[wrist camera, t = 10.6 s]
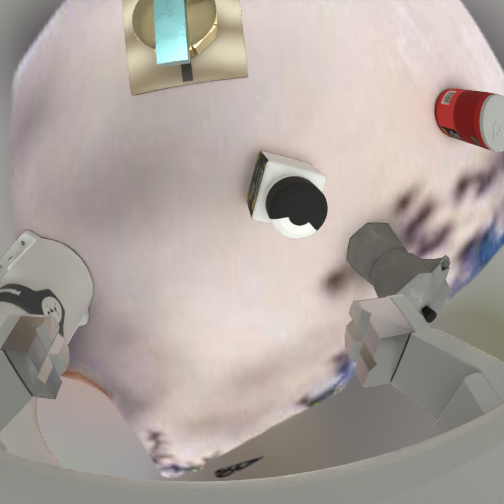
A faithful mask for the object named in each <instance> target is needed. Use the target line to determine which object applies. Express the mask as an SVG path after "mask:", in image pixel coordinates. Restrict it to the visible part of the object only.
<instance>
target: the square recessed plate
mask: <svg viewBox="0 0 504 504" xmlns="http://www.w3.org/2000/svg"><path fill="white" fill-rule="evenodd" d="M122 1H123V17H124V30H125V42H126V52H127V62H128V70H129V79H130V87H131V94H132V95H137V94H142V93H146V92H151V91H156V90H161V89H166V88H171V87H177V86H183V85H189V84H195V83H202V82H209V81H216V80H225V79H234V78H244V77H248V74H247V64H246V55H245V46H244V37H243V28H242V19H241V10H240V1H239V0H216V12H217V35H216V39H215V40H214V41H213V42H212V43H211V44H210V45H209V46H208V47H207V48H206V49H205V50H204V51H203V52H202V53H201V54H200V56H198V55H197V54H196V58H190V61H191V63H188V64H181V65H174V66H168V67H162V66H160V65H158V64H157V56H156V52H155V51H153V50H152V49H150V48H149V47H148V46H146V45H145V44H143V43H142V42H140V41H139V40H138V39H136V38H137V37H136V36H135V32H134V29H133V25H132V15H133V11H134V8H135V6H136V4H137V2H138V1H139V0H122Z"/></svg>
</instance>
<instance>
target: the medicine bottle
mask: <svg viewBox="0 0 504 504" xmlns="http://www.w3.org/2000/svg"><path fill="white" fill-rule="evenodd" d="M326 180H327V177H326V175H324V174H323V173H322V172H320V171H319V170H318V169H317V168H315V167H314V166H313V165H311V164H310V163H306V162H303V161H299V160H295V159H292V158H288V157H284V156H280V155H276V154H272V153H268V152H264V151H261V152H260V153H259V156H258V159H257V163H256V167H255V170H254V174H253V178H252V182H251V185H250V189H249V193H248V197H247V204H248V207H249V211H250V214H251V218H252V220H253V221H257V222H262V223H267V224H272V226H273V227H274V229H275V230H276V231H277V232H278V233H279V234H281V235H283V236H285V237H287V238H292V239H300V238H305V237H308V236H310V235H312V234H313V233H315V232H316V231H317V230H318V229H319V228H320V227H321V226H322V224H323V223H324V221H325V219H326V216H327V201H326V198H325V196H324V194H323V193H322V192H323V189H324V186H325V183H326Z"/></svg>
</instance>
